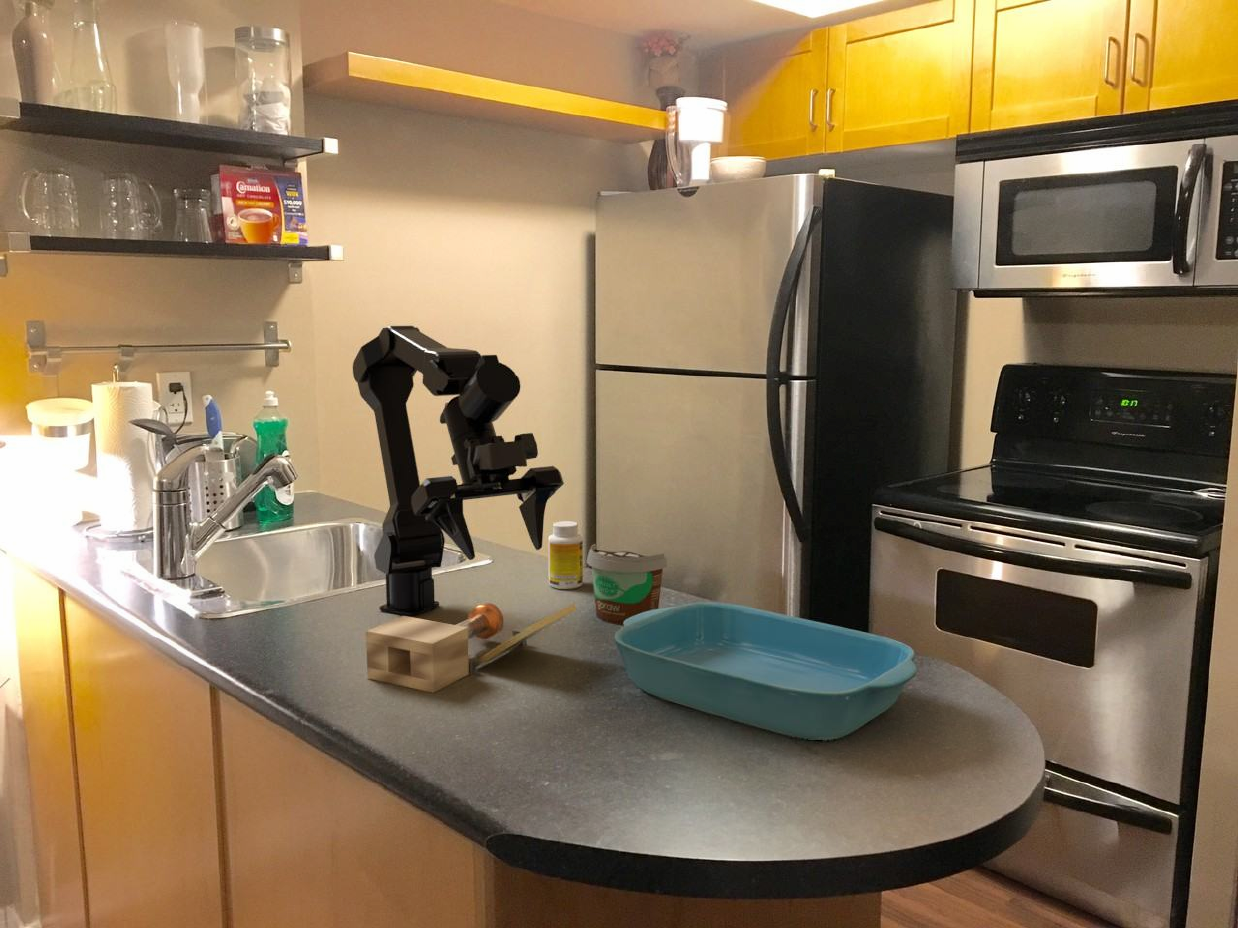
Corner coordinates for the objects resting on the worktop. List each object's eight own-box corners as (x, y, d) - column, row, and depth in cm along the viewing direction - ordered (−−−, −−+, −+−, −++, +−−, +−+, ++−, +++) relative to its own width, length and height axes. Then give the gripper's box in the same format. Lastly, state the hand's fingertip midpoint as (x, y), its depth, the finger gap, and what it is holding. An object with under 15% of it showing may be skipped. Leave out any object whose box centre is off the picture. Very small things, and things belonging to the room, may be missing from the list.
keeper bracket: (461, 671, 131) (460, 656, 130) (516, 642, 142) (516, 628, 141) (471, 673, 130) (471, 658, 130) (526, 644, 141) (526, 630, 141)
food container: (571, 619, 152) (571, 551, 151) (592, 608, 158) (592, 543, 156) (647, 632, 147) (648, 562, 145) (666, 620, 152) (667, 552, 150)
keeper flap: (474, 668, 131) (470, 663, 132) (517, 645, 140) (515, 640, 140) (534, 630, 126) (531, 624, 126) (576, 609, 135) (573, 603, 135)
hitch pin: (416, 660, 132) (415, 627, 132) (477, 632, 144) (476, 600, 143) (445, 666, 130) (444, 632, 130) (504, 637, 142) (503, 605, 141)
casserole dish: (578, 686, 127) (578, 629, 126) (687, 640, 144) (688, 590, 143) (857, 775, 104) (860, 705, 102) (948, 708, 120) (952, 648, 119)
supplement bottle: (585, 589, 168) (585, 526, 166) (551, 591, 167) (550, 528, 165) (579, 580, 173) (579, 519, 172) (545, 581, 172) (545, 520, 170)
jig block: (367, 678, 128) (365, 630, 127) (404, 660, 135) (403, 615, 134) (433, 692, 124) (432, 643, 123) (468, 674, 130) (467, 627, 129)
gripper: (426, 415, 123) (460, 539, 118) (564, 406, 133) (600, 520, 128) (397, 455, 131) (427, 573, 126) (528, 444, 142) (561, 552, 137)
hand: (506, 553), depth 129 cm, fingers open, 9 cm apart
